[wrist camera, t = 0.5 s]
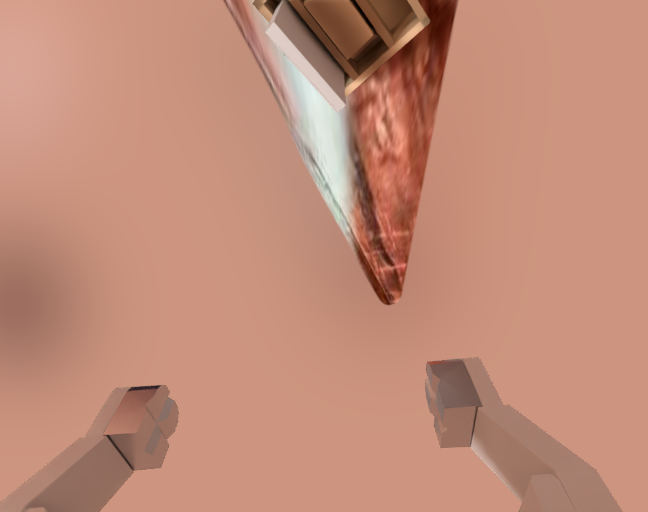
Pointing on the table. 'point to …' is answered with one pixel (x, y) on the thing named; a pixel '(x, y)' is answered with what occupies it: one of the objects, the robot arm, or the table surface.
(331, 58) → the sheet
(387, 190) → the table surface
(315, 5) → the offcut top
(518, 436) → the robot arm
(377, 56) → the rack
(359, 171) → the table surface
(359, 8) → the offcut low
